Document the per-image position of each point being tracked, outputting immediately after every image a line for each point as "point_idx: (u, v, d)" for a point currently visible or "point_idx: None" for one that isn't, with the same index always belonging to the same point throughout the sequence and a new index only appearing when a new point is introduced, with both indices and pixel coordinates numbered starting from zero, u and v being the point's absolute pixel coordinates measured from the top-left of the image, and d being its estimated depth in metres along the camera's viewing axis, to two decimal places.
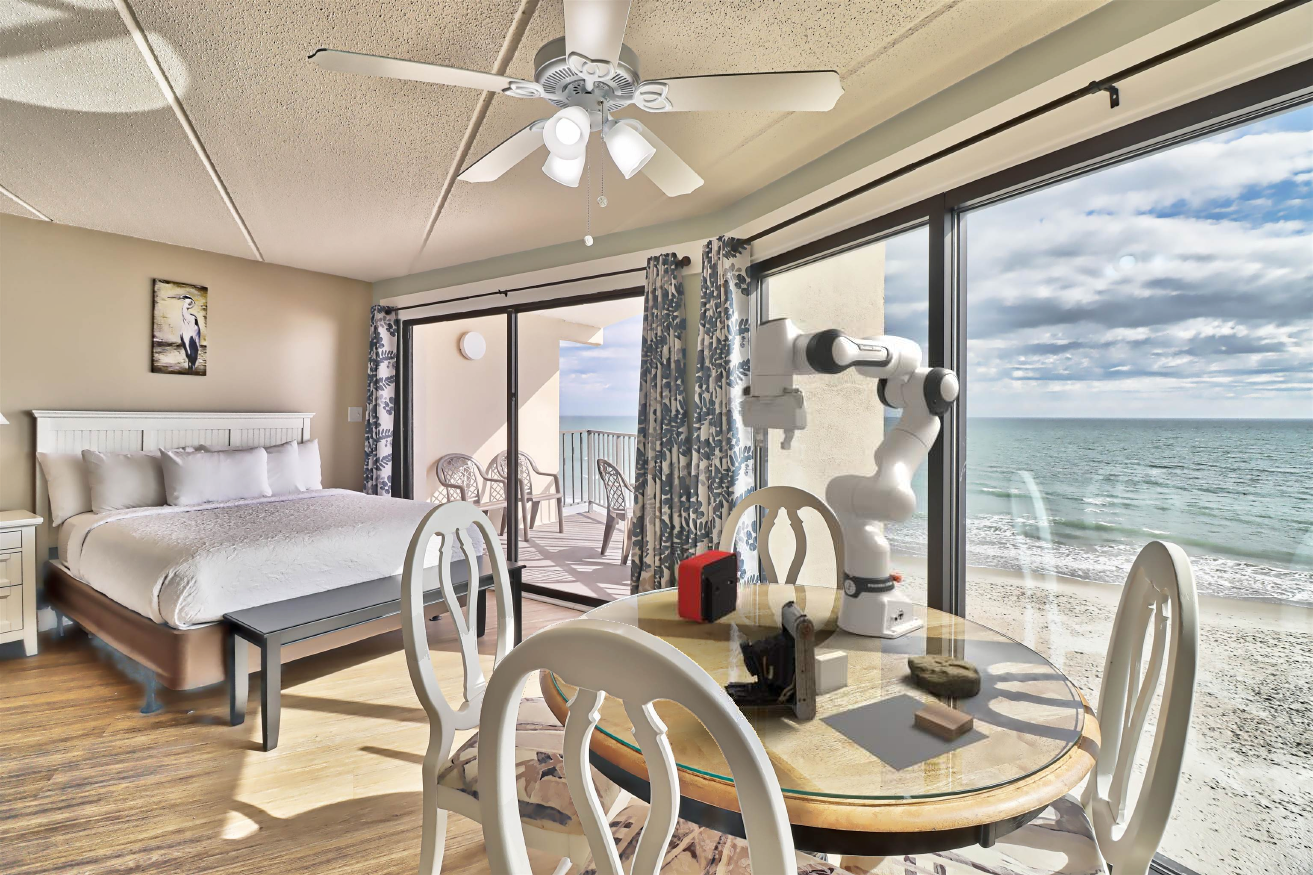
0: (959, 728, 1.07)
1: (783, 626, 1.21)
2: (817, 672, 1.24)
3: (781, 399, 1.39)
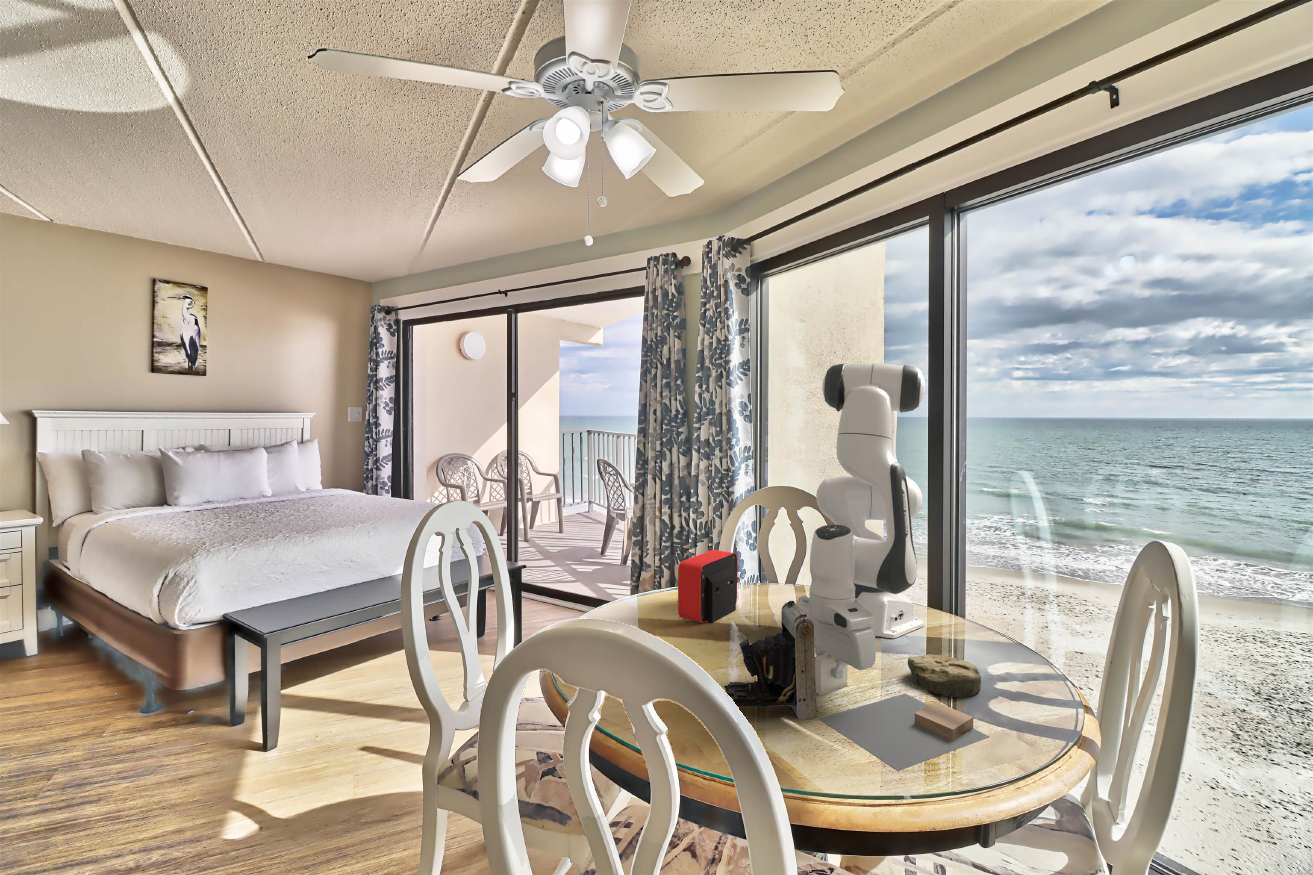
0: (959, 728, 1.07)
1: (783, 626, 1.21)
2: (817, 672, 1.24)
3: None
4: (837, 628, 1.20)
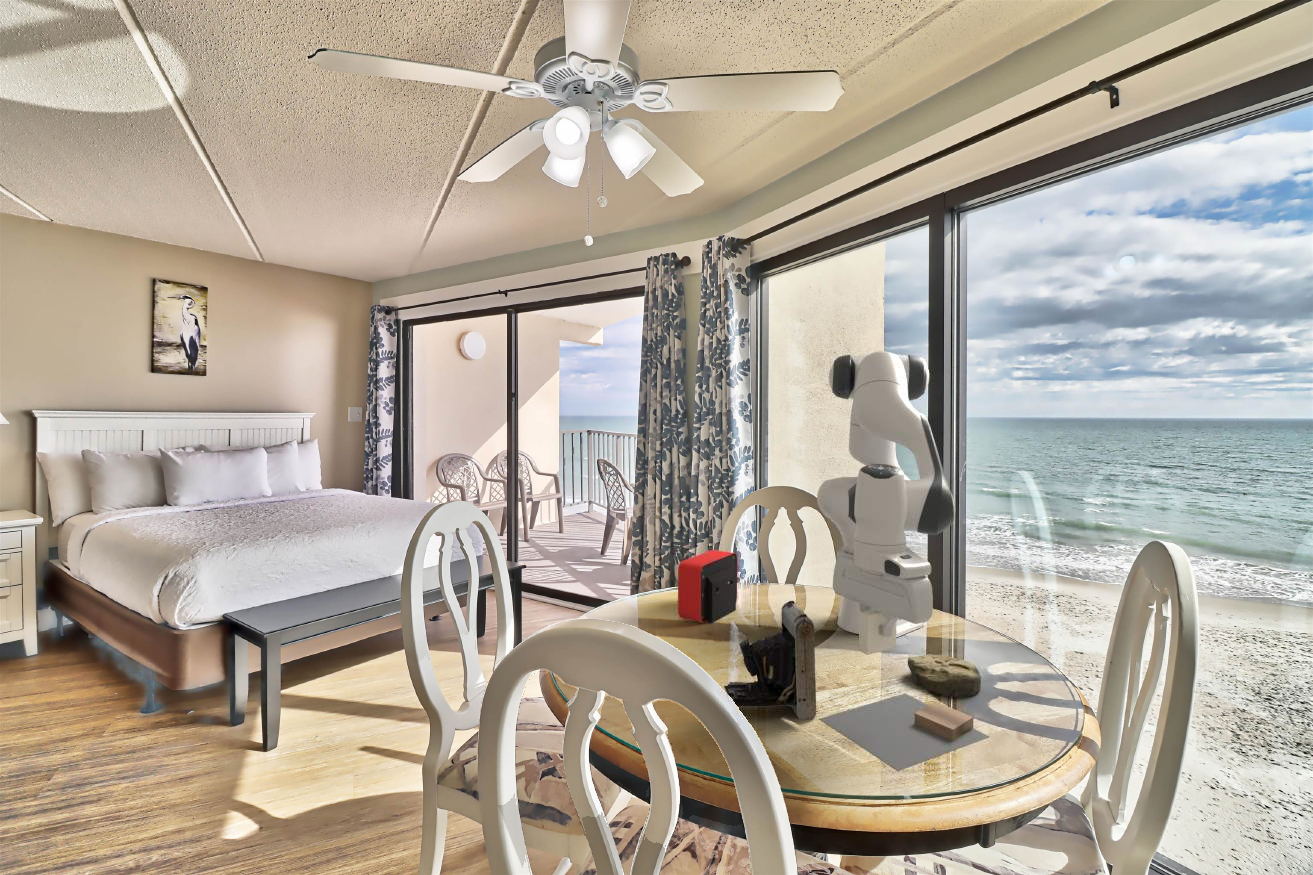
0: (959, 728, 1.07)
1: (783, 626, 1.21)
2: (863, 629, 1.10)
3: None
4: (888, 577, 1.06)
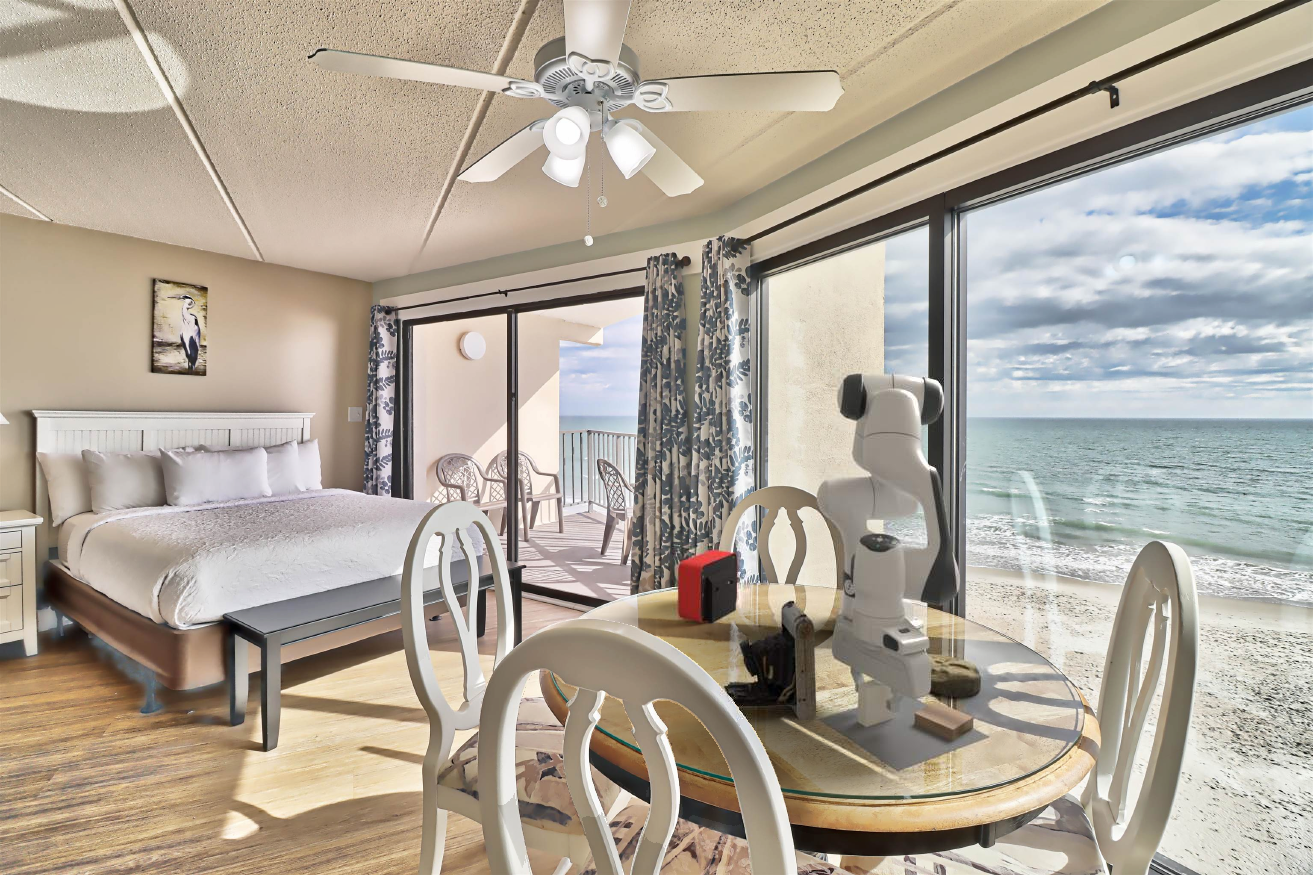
0: (959, 728, 1.07)
1: (783, 626, 1.21)
2: (862, 701, 1.11)
3: None
4: (886, 651, 1.07)
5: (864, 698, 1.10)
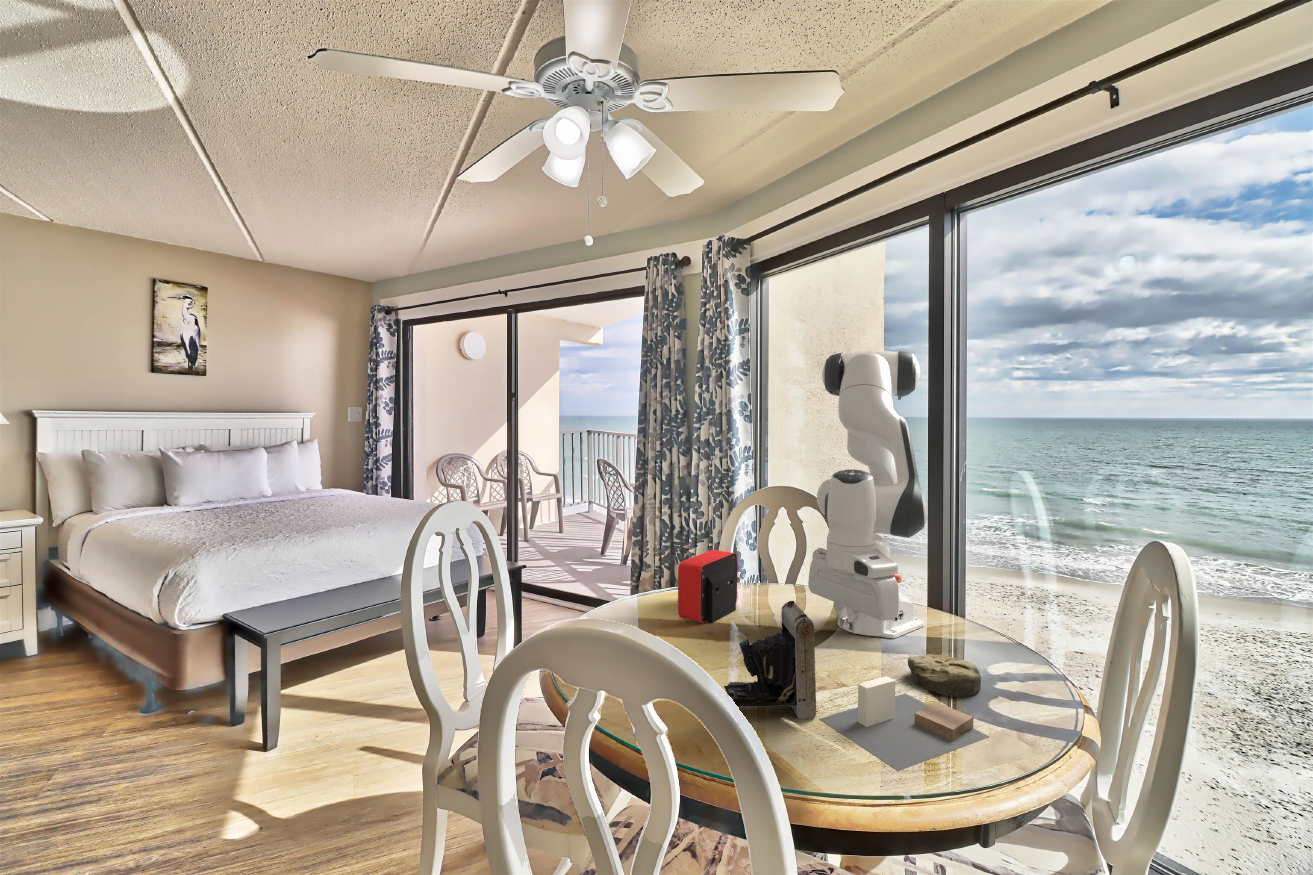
0: (959, 728, 1.07)
1: (783, 626, 1.21)
2: (862, 701, 1.11)
3: None
4: (857, 577, 1.12)
5: (864, 698, 1.10)
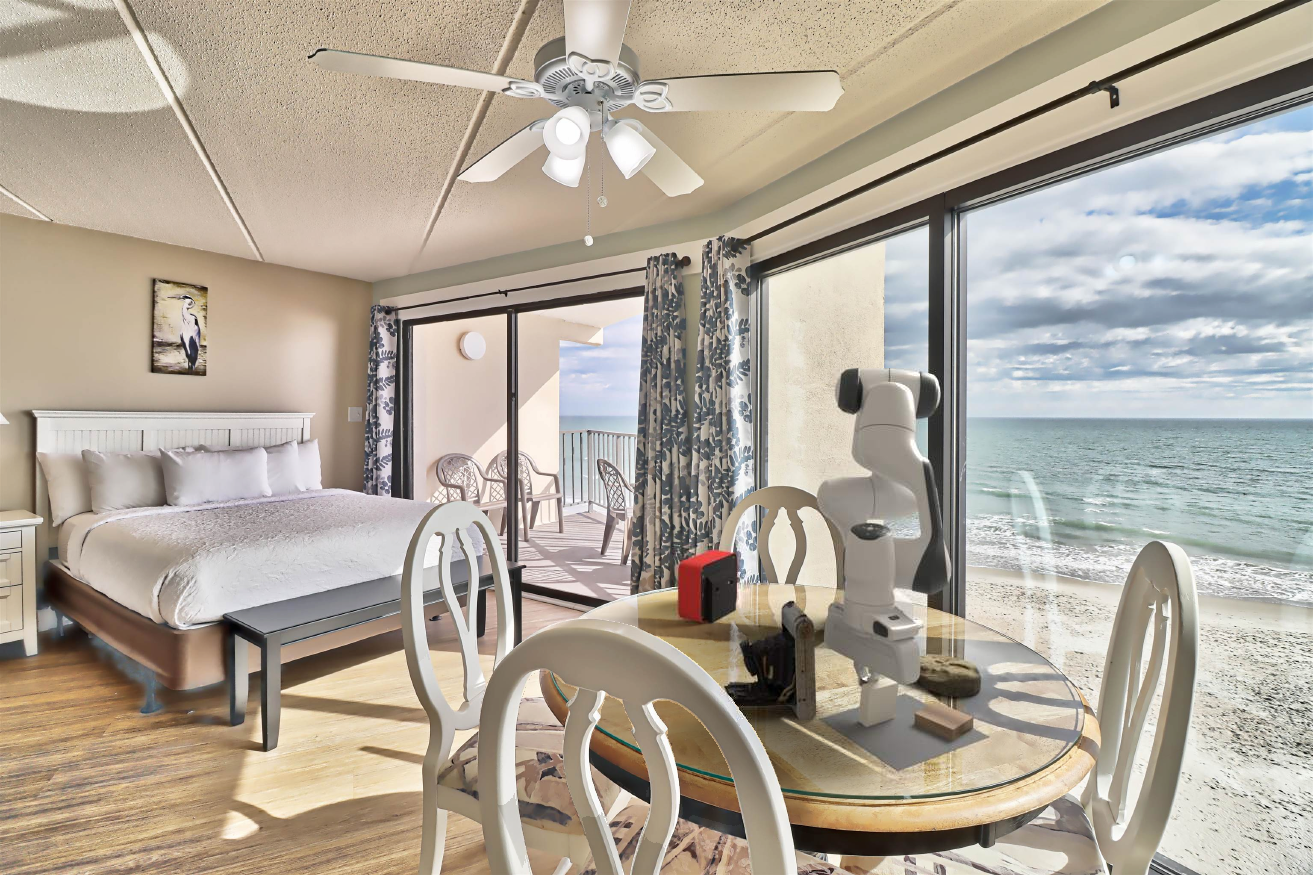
0: (959, 728, 1.07)
1: (783, 626, 1.21)
2: (864, 702, 1.10)
3: None
4: (876, 638, 1.08)
5: (867, 699, 1.10)
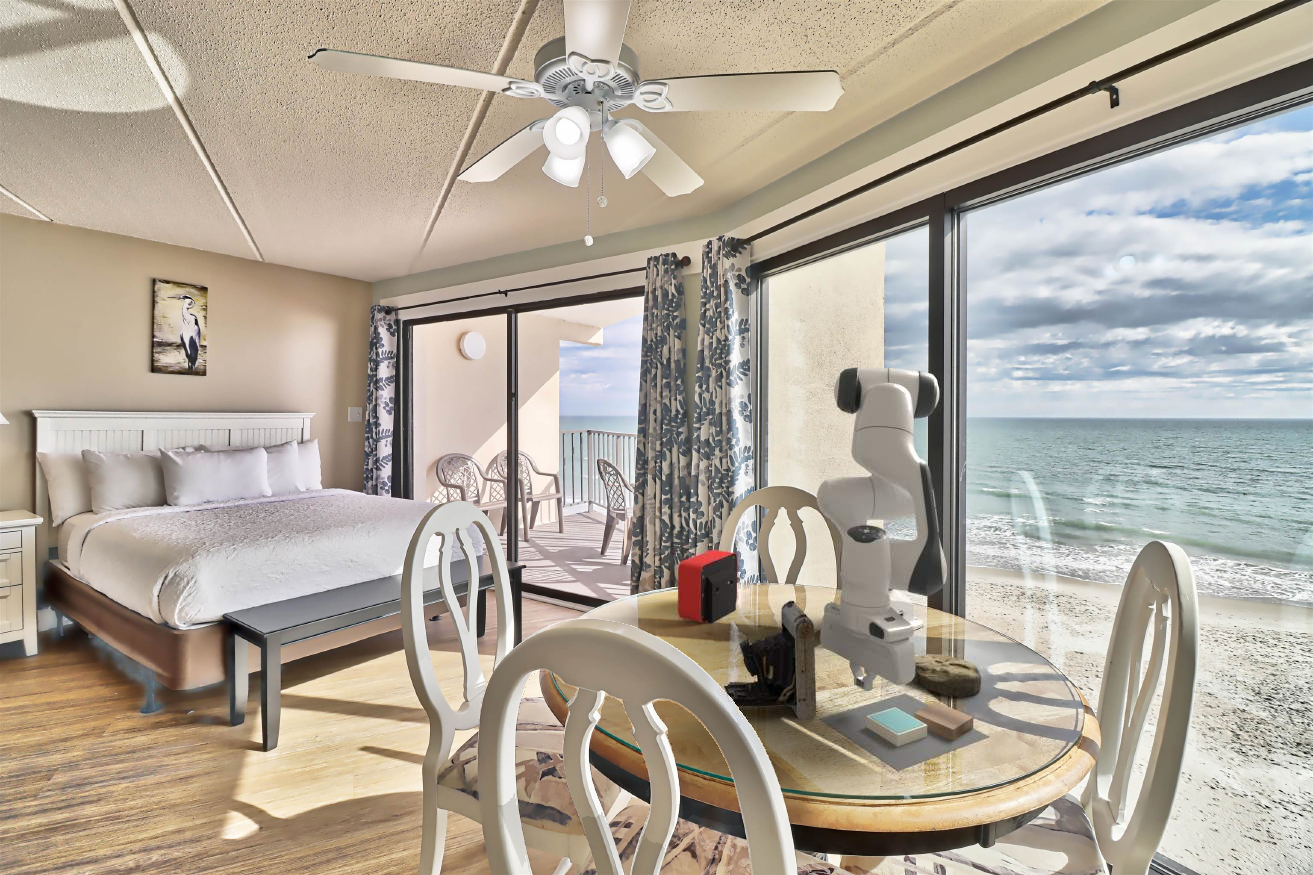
0: (959, 728, 1.07)
1: (783, 626, 1.21)
2: (885, 733, 1.06)
3: None
4: (872, 639, 1.10)
5: (888, 737, 1.06)
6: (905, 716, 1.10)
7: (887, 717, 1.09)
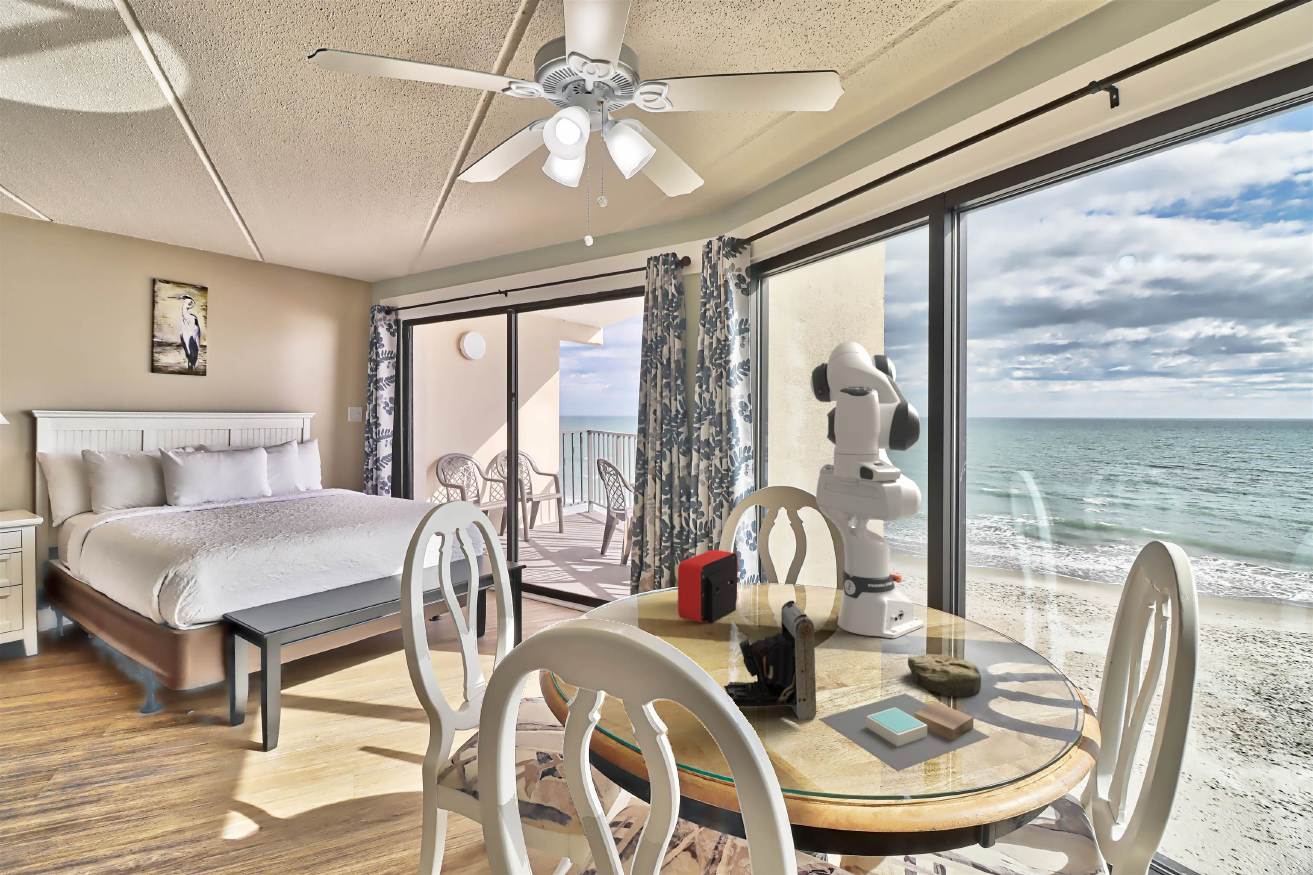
0: (959, 728, 1.07)
1: (783, 626, 1.21)
2: (885, 733, 1.06)
3: None
4: (863, 482, 1.20)
5: (888, 737, 1.06)
6: (905, 716, 1.10)
7: (887, 717, 1.09)
